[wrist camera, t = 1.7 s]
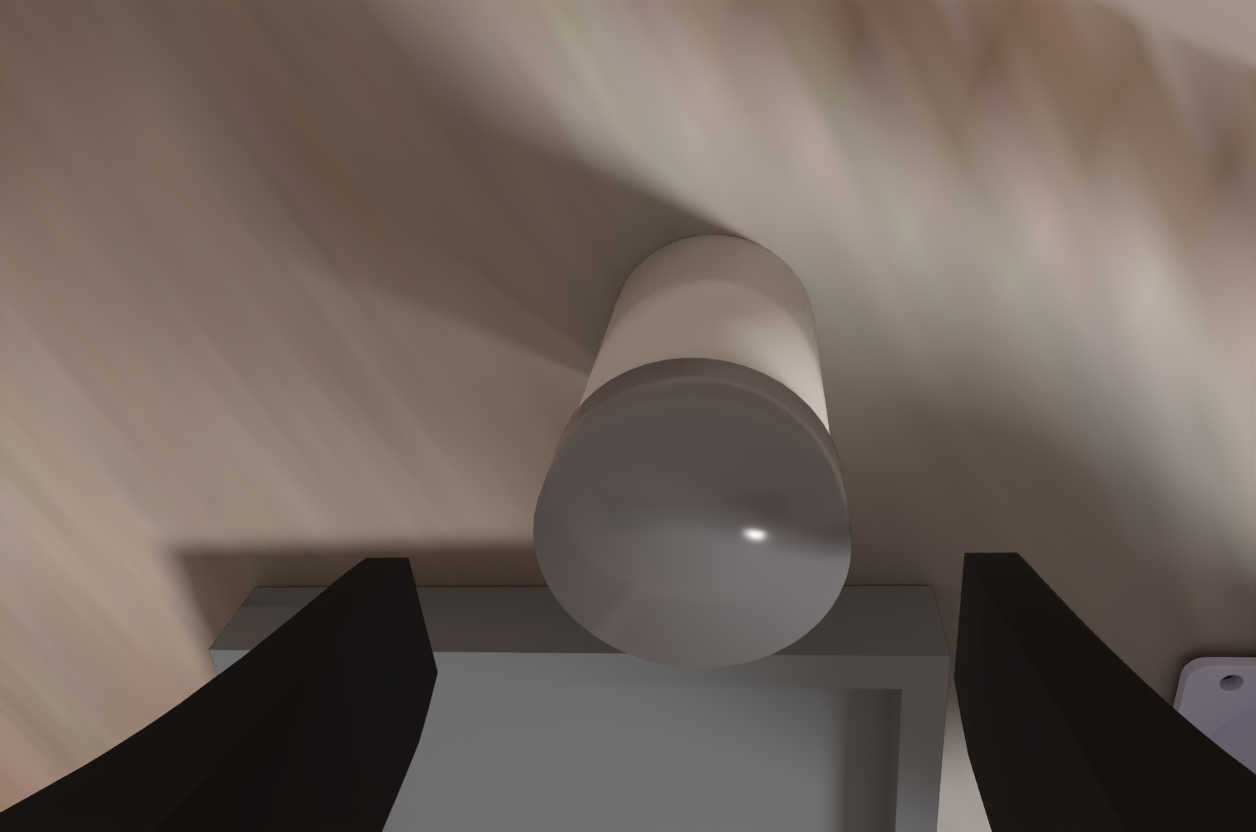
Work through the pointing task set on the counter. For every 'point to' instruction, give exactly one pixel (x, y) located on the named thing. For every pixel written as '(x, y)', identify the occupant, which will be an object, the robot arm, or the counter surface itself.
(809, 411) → the shaker
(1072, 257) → the counter surface
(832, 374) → the counter surface
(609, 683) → the tray
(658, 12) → the counter surface
